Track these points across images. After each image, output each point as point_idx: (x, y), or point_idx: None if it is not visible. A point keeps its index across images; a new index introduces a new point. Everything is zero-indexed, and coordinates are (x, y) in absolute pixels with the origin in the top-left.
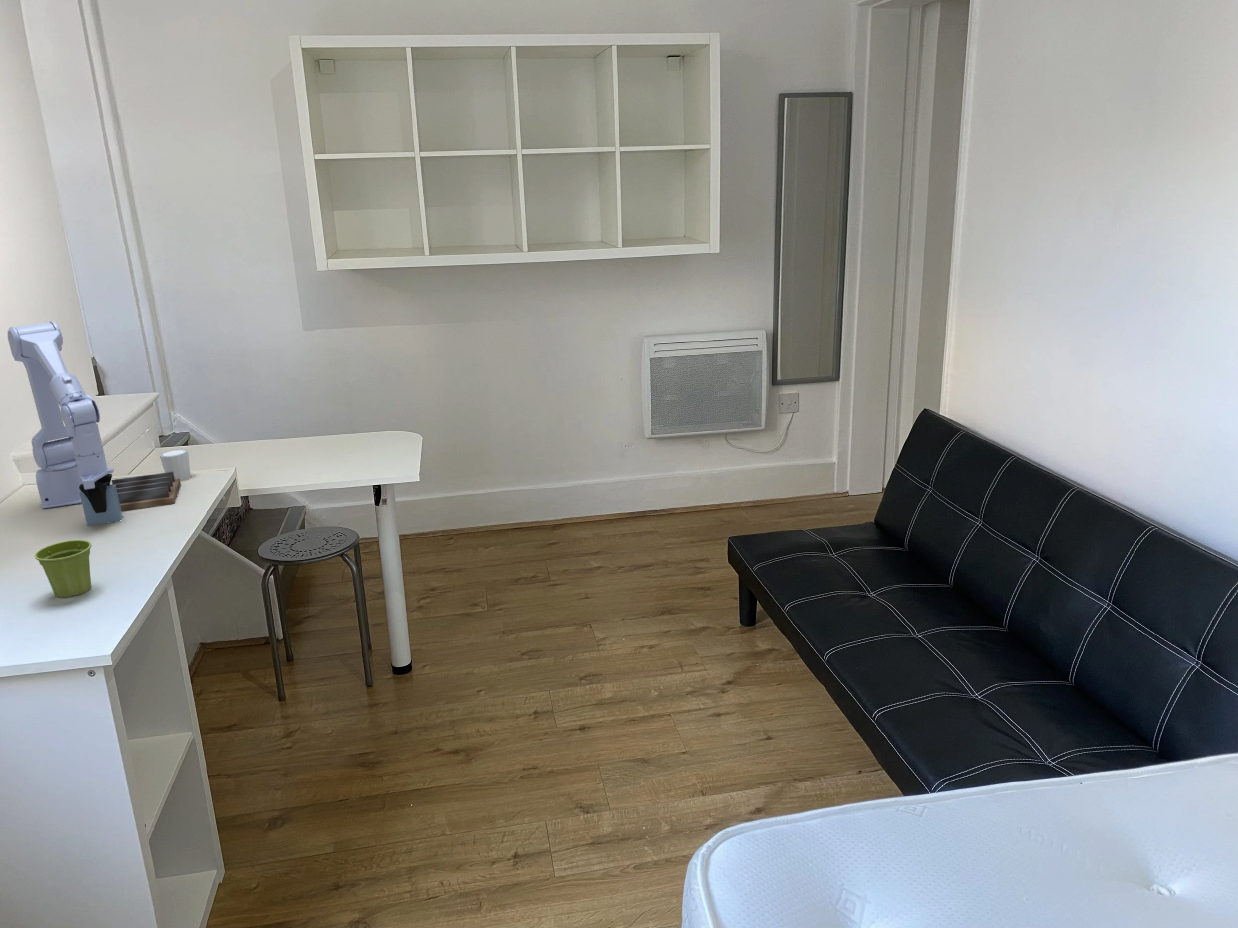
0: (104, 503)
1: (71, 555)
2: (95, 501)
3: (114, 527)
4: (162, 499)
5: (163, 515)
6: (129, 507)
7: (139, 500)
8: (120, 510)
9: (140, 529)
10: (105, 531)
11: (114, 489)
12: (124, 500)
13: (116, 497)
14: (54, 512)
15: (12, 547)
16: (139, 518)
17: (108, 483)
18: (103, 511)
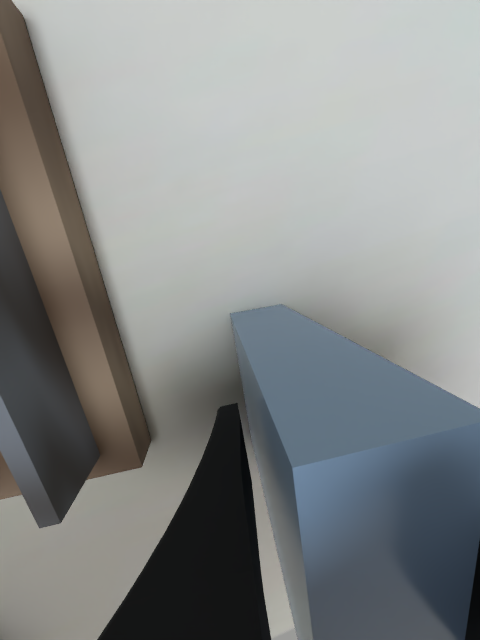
0: None
1: None
2: None
3: (368, 305)
4: (12, 67)
5: (272, 57)
6: (105, 317)
7: (27, 266)
8: (258, 320)
9: (458, 154)
10: (404, 328)
11: (436, 400)
12: (51, 363)
13: (337, 349)
14: (74, 624)
15: None
16: (277, 212)
17: (259, 634)
18: None
